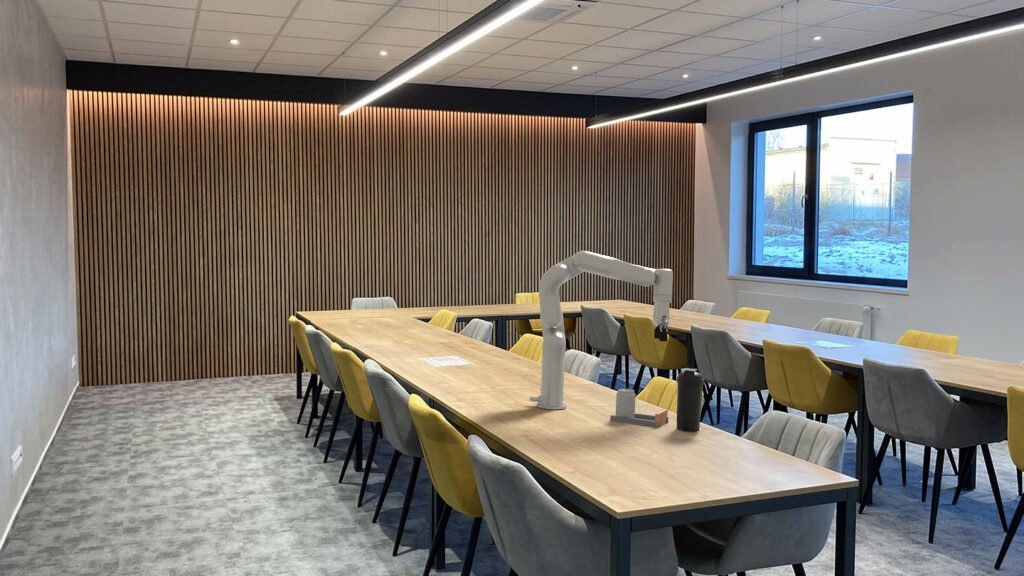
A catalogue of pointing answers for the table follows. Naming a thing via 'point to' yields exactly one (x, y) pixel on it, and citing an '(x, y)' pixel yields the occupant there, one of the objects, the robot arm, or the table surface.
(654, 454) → the table surface
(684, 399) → the water bottle
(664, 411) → the channel
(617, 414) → the can
